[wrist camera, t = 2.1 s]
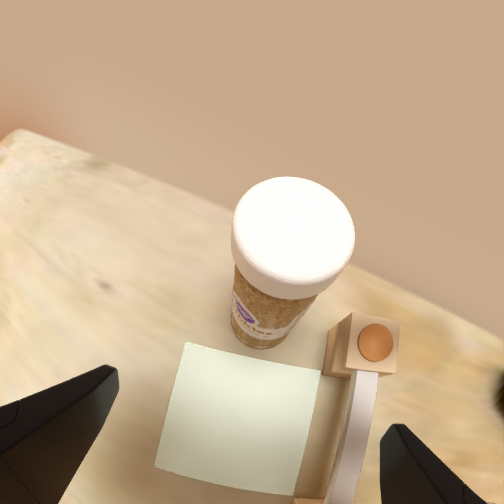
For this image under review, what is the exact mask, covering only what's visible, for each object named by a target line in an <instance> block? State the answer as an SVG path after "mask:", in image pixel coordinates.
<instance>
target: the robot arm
mask: <svg viewBox="0 0 504 504" xmlns="http://www.w3.org/2000/svg"><path fill="white" fill-rule="evenodd" d="M118 391H119V378H118V370H117V369H116V368H114V367H112V366H109V365H102V366H100V367H98V368H95V369H93V370H91V371H88V372H86V373H84V374H81V375H79V376H77V377H74V378H72V379H70V380H67V381H65V382H62V383H60V384H58V385H55V386H53V387H50V388H48V389H45V390H43V391H40V392H38V393H35V394H33V395H30V396H28V397H25V398H23V399H20V401H19V400H17V401H15V402H12V403H9V404H6V405H4V406H1V407H0V504H58V503H59V501H60V499H61V498H62V496H63V494H64V492H65V490H66V489H67V487H68V485H69V483H70V482H71V480H72V478H73V476H74V475H75V473H76V471H77V470H78V468H79V466H80V464H81V463H82V461H83V459H84V458H85V456H86V454H87V452H88V451H89V449H90V447H91V446H92V444H93V442H94V441H95V439H96V437H97V436H98V434H99V432H100V431H101V429H102V427H103V425H104V423H105V420H106V418H107V416H108V414H109V411H110V409H111V407H112V405H113V402H114V400H115V398H116V396H117V394H118ZM380 489H381V501H382V504H488V503H486V502H485V501H484V500H483V499H481V498H480V497H479V496H478V495H477V494H476V493H474V492H473V491H472V490H471V489H470V488H469V487H468V486H467V485H466V484H464V482H463V481H462V480H461V479H460V478H459V477H458V476H457V475H456V474H454V473H453V472H452V471H451V470H450V469H449V468H448V467H447V466H446V465H445V464H444V463H443V462H442V461H441V460H440V459H439V458H438V457H437V456H436V455H435V454H434V453H433V452H432V451H431V450H430V449H429V448H428V447H427V446H426V445H425V444H424V443H423V442H422V441H421V440H420V439H419V438H418V437H417V436H416V435H415V434H414V433H413V432H412V431H411V430H410V429H409V428H408V427H407V426H406V425H404V424H392V425H391V426H390V427H389V429H388V430H387V432H386V433H385V434H384V436H383V437H382V439H381V441H380Z"/></svg>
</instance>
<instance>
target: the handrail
mask: <svg viewBox="0 0 504 504" xmlns="http://www.w3.org/2000/svg"><path fill="white" fill-rule="evenodd" d="M399 325H400V321H398V320H392V319H387V318H381V317H376V316H370V315H365V314H359V313H354V312H352V313H351V314H350V315H348V316H347V317H346V318H345V319H343V320H342V321H341V322H339V323H338V324H337V325H336V326H334V327H333V328H332V329H331V330H329V333H328V340H327V347H326V353H325V360H324V366H323V372H322V375H327V376H334V377H341V378H349V379H351V380H350V386H349V392H348V398H347V404H346V410H345V415H344V420H343V425H342V430H341V435H340V440H339V444H338V449H337V453H336V457H335V461H334V465H333V469H332V473H331V477H330V481H329V485H328V488H327V492H326V495H325V499H311V498H296V497H294V500H293V503H292V504H352V501H353V497H354V494H355V490H356V487H357V483H358V479H359V475H360V472H361V468H362V463H363V459H364V455H365V450H366V446H367V441H368V436H369V431H370V426H371V421H372V415H373V409H374V403H375V397H376V390H377V382H378V377H382V376H386V375H390V374H394V373H396V366H397V355H398V342H399Z"/></svg>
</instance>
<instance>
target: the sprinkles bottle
mask: <svg viewBox="0 0 504 504" xmlns="http://www.w3.org/2000/svg"><path fill="white" fill-rule="evenodd" d="M354 243H355V230H354V225H353V222H352V219H351V216H350V214H349V212H348V210H347V209H346V207H345V206H344V204H343V203H342V202H341V201H340V199H338V197H336V196H335V195H334V194H333V193H332V192H331V191H329V190H328V189H327V188H325V187H323V186H321V185H319V184H317V183H315V182H313V181H310V180H307V179H302V178H297V177H278V178H272V179H269V180H266V181H263V182H261V183H259V184H257V185H255V186H253V187H252V188H251V189H250V190H248V191H247V192H246V193H245V195H244V196H243V197H242V198H241V199H240V201H239V203H238V204H237V206H236V208H235V211H234V215H233V220H232V231H231V250H232V254H233V258H234V262H235V278H234V285H233V301H232V309H233V311H232V314H231V322H232V327H233V330H234V332H235V334H236V336H237V337H238V338H239V339H240V341H242V342H243V343H245V344H246V345H248V346H251V347H254V348H258V349H264V348H270V347H273V346H275V345H277V344H279V343H280V342H282V341H283V340H284V339H285V337H286V336H287V334H288V333H289V331H290V330H291V329H292V328H293V327H294V326H295V324H296V323H297V322H298V321H299V319H300V318H301V317H302V316H303V315H304V313H305V312H306V311H307V310H308V308H309V307H310V306H311V304H312V303H313V302H314V300H315V298H316V296H317V295H318V294H319V293H321V292H322V291H324V290H325V289H326V288H328V287H329V286H330V285H331V284H332V283H333V282H334V280H335V279H336V278H337V277H338V275H339V274H340V273H341V271H342V270H343V269H344V267H345V266H346V264H347V263H348V261H349V259H350V257H351V255H352V252H353V249H354Z"/></svg>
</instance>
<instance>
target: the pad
mask: <svg viewBox="0 0 504 504" xmlns="http://www.w3.org/2000/svg"><path fill="white" fill-rule="evenodd" d="M320 372H321V370H314V369H308V368H302V367H297V366H291V365H286V364H281V363H275V362H270V361H265V360H261V359H256V358H251V357H247V356H242V355H238V354H234V353H229V352H225V351H221V350H217V349H213V348H209V347H205V346H202V345H198V344H194V343H190V342H187V341H186V343H185V347H184V350H183V354H182V357H181V361H180V365H179V368H178V372H177V376H176V379H175V383H174V387H173V391H172V394H171V398H170V402H169V406H168V410H167V414H166V418H165V422H164V426H163V430H162V434H161V438H160V442H159V446H158V450H157V454H156V459H155V463H154V467H157V468H160V469H163V470H166V471H169V472H172V473H176V474H179V475H182V476H186V477H190V478H193V479H197V480H201V481H205V482H209V483H213V484H218V485H222V486H227V487H232V488H238V489H243V490H249V491H256V492H262V493H270V494H279V495H288V496H293V493H294V489H295V486H296V482H297V478H298V475H299V471H300V467H301V463H302V459H303V455H304V451H305V446H306V442H307V438H308V433H309V429H310V424H311V419H312V415H313V410H314V405H315V400H316V394H317V389H318V384H319V378H320Z"/></svg>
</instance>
